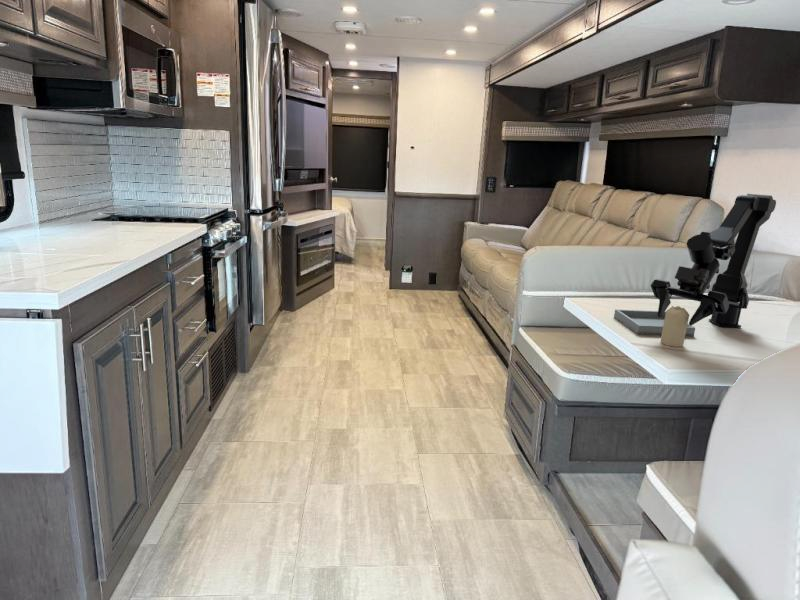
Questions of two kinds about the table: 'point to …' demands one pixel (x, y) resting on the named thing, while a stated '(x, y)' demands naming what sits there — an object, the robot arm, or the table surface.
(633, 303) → the table surface
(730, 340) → the table surface
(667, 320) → the candle
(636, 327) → the tray
